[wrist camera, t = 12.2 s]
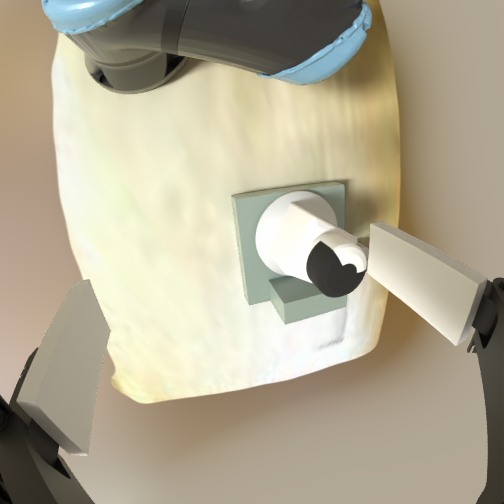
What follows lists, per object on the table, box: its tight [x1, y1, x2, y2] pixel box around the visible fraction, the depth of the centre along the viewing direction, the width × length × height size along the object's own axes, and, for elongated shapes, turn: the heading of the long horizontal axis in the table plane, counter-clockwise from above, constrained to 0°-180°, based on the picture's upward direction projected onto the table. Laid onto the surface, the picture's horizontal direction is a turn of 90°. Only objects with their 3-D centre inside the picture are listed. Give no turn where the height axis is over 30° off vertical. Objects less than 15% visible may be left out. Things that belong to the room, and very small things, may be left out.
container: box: [267, 203, 367, 298], centre depth 34 cm, size 8×8×13 cm
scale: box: [231, 182, 347, 324], centre depth 40 cm, size 18×17×10 cm
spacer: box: [356, 241, 369, 272], centre depth 47 cm, size 5×5×4 cm
